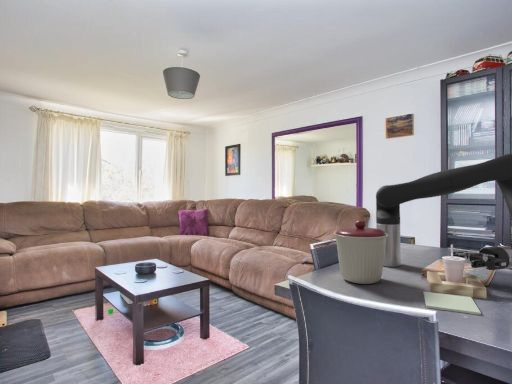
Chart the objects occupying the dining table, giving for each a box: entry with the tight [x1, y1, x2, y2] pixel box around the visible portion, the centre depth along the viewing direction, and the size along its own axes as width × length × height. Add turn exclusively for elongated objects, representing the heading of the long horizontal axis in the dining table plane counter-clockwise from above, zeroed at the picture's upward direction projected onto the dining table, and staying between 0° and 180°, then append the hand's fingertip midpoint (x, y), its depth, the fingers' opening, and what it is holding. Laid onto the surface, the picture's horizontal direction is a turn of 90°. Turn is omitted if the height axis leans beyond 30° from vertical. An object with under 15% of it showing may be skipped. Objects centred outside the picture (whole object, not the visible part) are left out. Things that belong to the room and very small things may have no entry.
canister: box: [333, 219, 388, 285], centre depth 107 cm, size 18×18×21 cm
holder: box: [426, 270, 487, 300], centre depth 97 cm, size 14×14×3 cm
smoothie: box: [441, 244, 467, 283], centre depth 97 cm, size 6×6×14 cm
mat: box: [423, 291, 482, 316], centre depth 85 cm, size 12×12×1 cm
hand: (459, 261), depth 97 cm, fingers open, 8 cm apart
